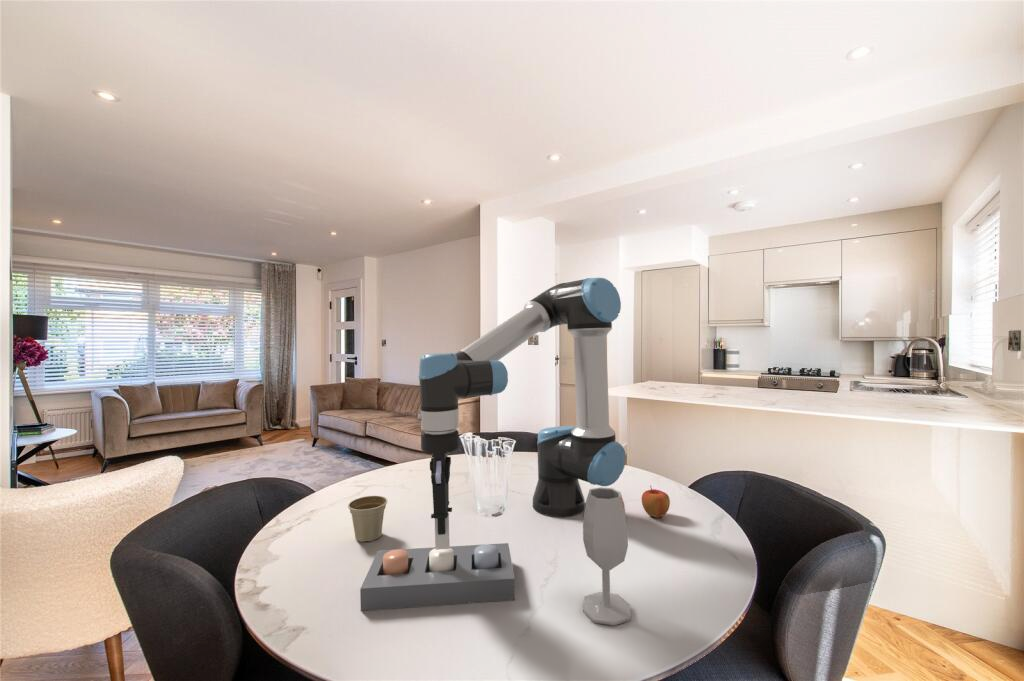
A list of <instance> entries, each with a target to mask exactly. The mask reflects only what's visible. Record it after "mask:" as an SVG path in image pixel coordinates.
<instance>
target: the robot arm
mask: <svg viewBox="0 0 1024 681" xmlns="http://www.w3.org/2000/svg"><path fill="white" fill-rule="evenodd" d="M621 308H622V302H621V297H620V294H619V292H618V289H617V287H616V286H615V285H614V284H613V282H611V281H610V280H609V279H607V278H605V277H588V278H583V279H579V280H573V281H569V282H563V283H562V282H561V283H558V284H556V285H553V286H551V287H550V288H548V289H546V290H544V291H542V292H541V293H540V294H538V295H537V296H535V297H534V298H532V299H531V300H529V301H528V302H526V303H525V304H524V307H523V309H522V310H520V311H519V312H517V313H516V314H513V316H511V317H510V318H508V319H507V320H505V321H503V322H502V323H500V324H499V325H497V326H496V327H495V328H493V329H491V330H490V331H488V332H487V333H485V334H484V335H482V336H481V337H479V338H477V339H476V340H474V341H473V342H472V343H470V344H467V346H466V347H464V348H462V349H461V350H459V351H458V352H456V353H451V352H450V353H448V352H446V353H441V352H440V353H425V354H423V355H422V356H421V357H420V359H419V366H418V368H419V372H418V379H419V401H420V409H419V410H420V413H419V414H418V415H417V417H416V418H417V419H418V420H421V421H420V429H421V430H422V432H421V433H420V449H421V451H422V452H423V453H426V454H432V455H433V457H431V458H430V461H429V470H430V479H431V486H432V487H431V489H432V500H433V502H432V507H433V513H431V514H430V519H434V544H435V550H439V549H449V547H450V545H451V543H450V514H449V513H452V512H453V507H449V505H450V499H449V498H450V497H449V496H450V495H449V494H450V492H449V487H450V486H449V484H450V483H449V482H450V477H451V464H452V457H451V456H448V453H453V452H455V451H458V449H459V447H460V437H459V436H460V435H459V434H460V432H459V430H458V428H459V426H460V423H459V422H460V421H459V420H460V419H459V414H460V413H459V399H464V398H471V397H480V396H493V395H497V394H500V393H503V392H504V391H505V390H506V388H507V386H508V383H509V377H508V376H509V374H508V373H509V372H508V370H507V367H506V366H505V364H504V363H503V362H502V361H501V359H502V358H504V357H505V356H507V355H508V354H509V353H511V352H512V351H514V350H515V349H517V348H519V346H521V345H522V344H524V343H525V342H526V341H528V340H529V339H530V338H532V337H534V336H535V335H537V334H538V333H545V332H547V331H548V330H549V329H552V328H554V327H557V326H561V325H567V332H568V333H570V335H572V337H573V355H574V356H573V358H574V381H575V382H574V385H575V386H574V387H575V388H574V390H575V415H576V416H575V417H576V420H575V421H576V425H575V426H574V425H562V426H560V425H559V426H551V427H546V428H542V429H540V430H539V432H538V434H537V442H536V444H537V474H538V476H537V477H538V478H537V482H536V486H535V488H534V489H535V490H534V494H533V495H532V508H533V509H534V511H536V512H537V513H539V514H542V515H545V516H549V517H572V516H575V515H578V514H581V513H582V512H584V511H585V505H586V501H585V496H584V494H583V490H582V487H581V485H580V482H579V480H580V481H584V482H587V483H589V484H590V485H595V486H596V485H597V486H601V487H609V486H611V485H614V483H616V482H617V481H618V480H619V478H620V477H621V475H622V474H623V472H624V469H625V466H626V460H627V459H626V458H627V456H626V450H625V448H624V447H623V445H622V444H621V443H619V442H618V441H617V440H616V431H615V430H614V429H613V428H612V427H611V426H610V413H609V412H610V410H609V407H610V406H609V382H608V381H609V379H608V349H607V346H608V345H607V344H608V343H607V335H608V334H609V333H610V332H611V331H612V329H613V323H612V322H614V321H615V320H617V319H618V317H620V316H619V314H620V313H621Z"/></svg>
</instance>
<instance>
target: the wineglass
mask: <svg viewBox="0 0 1024 681" xmlns="http://www.w3.org/2000/svg"><path fill="white" fill-rule="evenodd" d="M625 507H626V506H625V502H624V499H623V496H622V493H621V491H620V490H619V491H618V490H617V489H614V488H613V487H596V488H595V487H594V488H590V489H589V490H588V493H587V497H586V501H585V509H584V514H583V515H584V516H583V521H582V522H583V524H582V541H583V546H584V549H585V552H586V556H587V557H588V558H589V559H590V560H592V562H593V563H594V564H595V565H597V567H599V568H600V569H601V573H602V575H601V576H602V578H601V579H602V583H601V585H602V586H601V587H602V590H601V591H597V592H594V593H591V594H588V595H585V596H583V602H582V609H581V610H582V612H583V613H584V614H585V615H586V616H587V618H589V619H590V620H591V622H593V623H594V624H600V625H606V626H607V625H608V626H617V625H621V624H623V623H626V622H629V621H631V619H632V615H631V613H632V612H631V604H630V603H629V602H628V601H627V600H626V599H624V598H623V597H622V596H621V595H619V594H618V593H611V582H610V581H611V575H610V573H611V572H610V571H612V570H613V569H614V568H616V567H618V566H619V565H620V564H621V565H622V563H624V562H625V559H626V556H627V552H628V546H629V536H628V532H629V530H628V529H629V528H628V519H627V513H626V508H625Z"/></svg>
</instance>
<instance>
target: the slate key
mask: <svg viewBox="0 0 1024 681" xmlns="http://www.w3.org/2000/svg"><path fill="white" fill-rule="evenodd" d="M490 544H491V543H488V544H487V543H486V544H485V545H484V544H479V545H480V546H478V547H476V548H475V550H474V555H475V570H476V569H492V568H498V548H497V547H496V546H494V545H490Z"/></svg>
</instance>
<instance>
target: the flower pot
mask: <svg viewBox="0 0 1024 681" xmlns="http://www.w3.org/2000/svg"><path fill="white" fill-rule="evenodd" d="M388 502H389V501H388V498H387V497H386V496H382V495H366V496H365V495H364V496H360V497H358V498H357V497H356V498H355V499H353V500H351V501H350V502H349V503H348V504H347V508H348V509H349V513H350V514H351V519H352V524H353V532H354V538H355V540H356V541H357V542H361V543H364V542H366V541H367V542H373V541H376V540H378V539H380V537H381V536H382V533H383V532H382V531H383V524H384V523H383V522H384V516H385V514H384V513H385V510H386V506H387V504H388Z"/></svg>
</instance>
